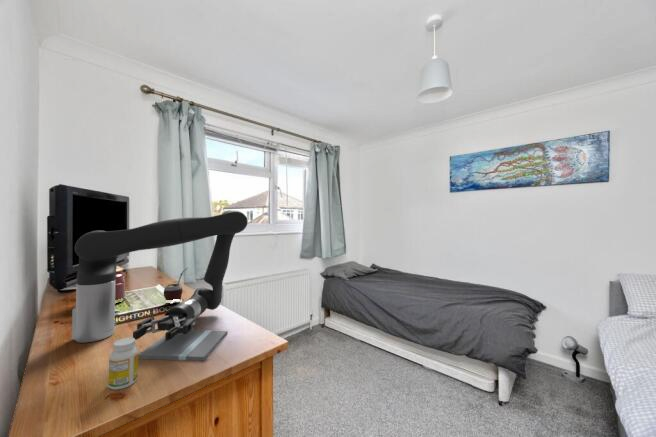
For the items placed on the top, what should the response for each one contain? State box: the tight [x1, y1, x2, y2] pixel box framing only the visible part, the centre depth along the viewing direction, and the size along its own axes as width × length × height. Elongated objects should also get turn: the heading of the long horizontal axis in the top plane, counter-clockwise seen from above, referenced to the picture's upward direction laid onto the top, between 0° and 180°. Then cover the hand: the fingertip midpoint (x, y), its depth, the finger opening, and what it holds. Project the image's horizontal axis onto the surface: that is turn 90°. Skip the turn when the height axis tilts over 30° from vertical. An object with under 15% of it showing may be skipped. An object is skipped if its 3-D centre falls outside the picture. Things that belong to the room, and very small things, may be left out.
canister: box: [115, 265, 127, 300], centre depth 113 cm, size 13×13×18 cm
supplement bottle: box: [108, 337, 139, 391], centre depth 61 cm, size 5×5×10 cm
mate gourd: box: [163, 267, 188, 301], centre depth 115 cm, size 8×8×15 cm
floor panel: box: [138, 329, 228, 362], centre depth 79 cm, size 18×16×1 cm
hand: (150, 336), depth 70 cm, fingers open, 8 cm apart
